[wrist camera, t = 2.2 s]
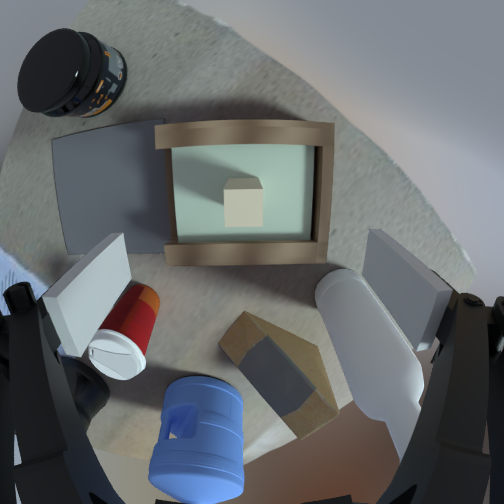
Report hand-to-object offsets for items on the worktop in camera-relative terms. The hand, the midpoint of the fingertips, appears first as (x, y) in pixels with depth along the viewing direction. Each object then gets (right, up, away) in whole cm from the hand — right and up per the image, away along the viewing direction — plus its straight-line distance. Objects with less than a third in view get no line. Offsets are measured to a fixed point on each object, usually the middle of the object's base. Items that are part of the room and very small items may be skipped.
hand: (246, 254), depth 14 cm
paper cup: (-17, -7, +27) cm, 32 cm away
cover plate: (-1, +7, +16) cm, 17 cm away
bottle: (+13, -6, +27) cm, 31 cm away
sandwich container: (+3, -15, +31) cm, 35 cm away
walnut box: (-1, +9, +21) cm, 22 cm away
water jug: (-9, -29, +36) cm, 48 cm away
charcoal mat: (-20, +8, +20) cm, 29 cm away
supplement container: (-21, +23, +14) cm, 34 cm away
